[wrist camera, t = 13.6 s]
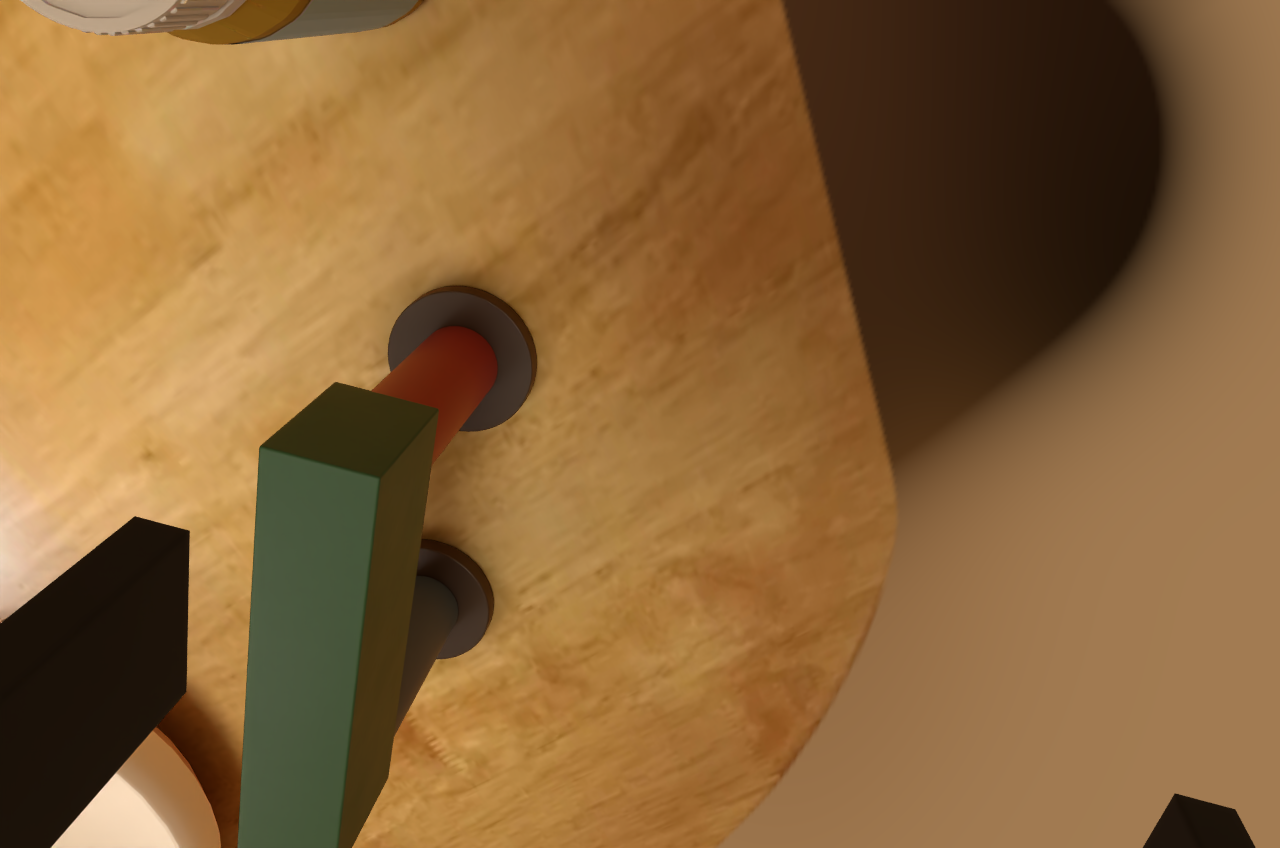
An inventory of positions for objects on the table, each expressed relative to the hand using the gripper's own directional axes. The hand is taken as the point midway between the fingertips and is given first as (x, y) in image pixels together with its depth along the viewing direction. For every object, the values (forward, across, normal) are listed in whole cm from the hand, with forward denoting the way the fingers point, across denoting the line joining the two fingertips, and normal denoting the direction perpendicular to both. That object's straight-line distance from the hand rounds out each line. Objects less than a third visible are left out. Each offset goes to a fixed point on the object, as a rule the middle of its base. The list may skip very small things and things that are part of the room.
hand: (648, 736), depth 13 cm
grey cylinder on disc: (+27, -10, -19) cm, 34 cm away
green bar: (+18, -10, -13) cm, 24 cm away
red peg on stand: (+27, -10, -7) cm, 29 cm away
